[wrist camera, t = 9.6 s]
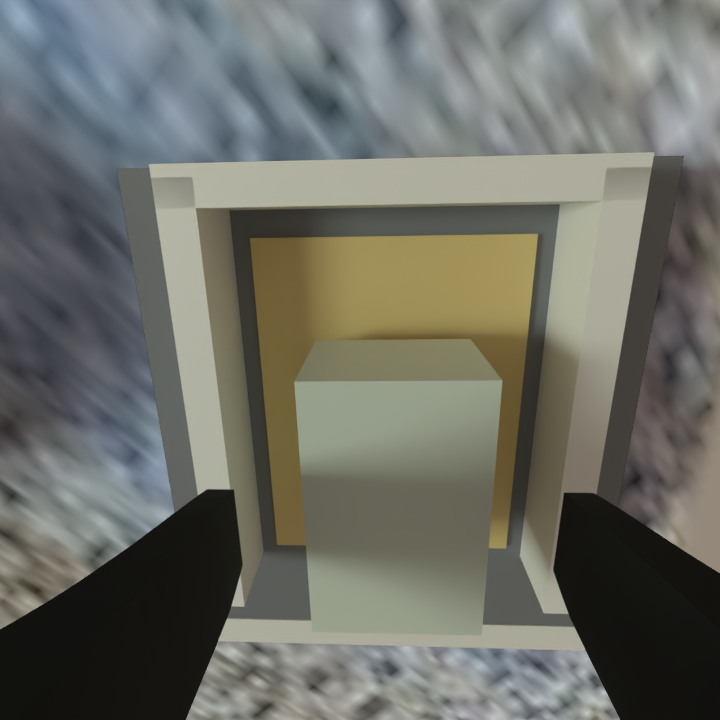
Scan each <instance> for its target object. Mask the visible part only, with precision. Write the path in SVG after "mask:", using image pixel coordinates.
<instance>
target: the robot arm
mask: <svg viewBox="0 0 720 720" xmlns="http://www.w3.org/2000/svg"><path fill="white" fill-rule="evenodd" d="M242 566H243V562H242V554H241V545H240V537H239V528H238V520H237V511H236V503H235V494H234V489H207V490H205V491H204V492H202V493H201V494H199V495H198V496H197V497H195V498H194V499H192V500H191V501H190V502H188V503H187V504H186V505H184V506H183V507H182V508H180V509H179V510H178V511H177V512H175V513H174V514H173V515H171V516H170V517H169V518H167V519H166V520H165V521H163V522H162V523H161V524H159V525H158V526H157V527H155V528H154V529H153V530H151V531H150V532H149V533H147V534H146V535H145V536H143V537H142V538H141V539H139V540H138V541H137V542H135V543H134V544H133V545H131V546H130V547H129V548H127V549H126V550H124V551H123V552H121V553H120V554H119V555H117V556H116V557H114V558H113V559H111V560H110V561H108V562H107V563H106V564H104V565H103V566H101V567H100V568H98V569H97V570H95V571H94V572H93V573H91V574H90V575H88V576H87V577H85V578H84V579H82V580H81V581H79V582H78V583H76V584H75V585H73V586H72V587H70V588H69V589H67V590H66V591H64V592H62V593H61V594H59V595H58V596H56V597H54V598H53V599H51V600H50V601H48V602H46V603H45V604H43V605H41V606H40V607H38V608H36V609H35V610H33V611H31V612H30V613H28V614H26V615H24V616H23V617H21V618H19V619H18V620H16V621H14V622H13V623H11V624H9V625H7V626H6V627H4V628H2V629H0V720H186V717H187V715H188V713H189V710H190V708H191V705H192V703H193V700H194V698H195V696H196V693H197V691H198V688H199V686H200V683H201V681H202V679H203V676H204V674H205V671H206V669H207V667H208V664H209V662H210V659H211V657H212V654H213V652H214V650H215V647H216V645H217V642H218V640H219V637H220V635H221V632H222V630H223V627H224V625H225V622H226V620H227V617H228V615H229V612H230V609H231V606H232V602H233V599H234V596H235V592H236V589H237V585H238V581H239V577H240V574H241V570H242ZM553 571H554V574H555V577H556V580H557V583H558V586H559V589H560V592H561V595H562V598H563V600H564V603H565V606H566V608H567V611H568V614H569V616H570V619H571V621H572V623H573V625H574V627H575V629H576V631H577V633H578V635H579V638H580V640H581V642H582V644H583V646H584V648H585V650H586V652H587V654H588V656H589V658H590V660H591V662H592V664H593V666H594V668H595V670H596V672H597V674H598V676H599V678H600V680H601V682H602V684H603V686H604V688H605V690H606V692H607V694H608V696H609V698H610V700H611V702H612V704H613V706H614V708H615V710H616V712H617V714H618V716H619V718H620V720H720V573H718V572H717V571H715V570H713V569H712V568H710V567H709V566H707V565H705V564H704V563H702V562H701V561H699V560H697V559H696V558H694V557H693V556H691V555H690V554H688V553H686V552H685V551H683V550H682V549H680V548H679V547H677V546H676V545H674V544H672V543H671V542H669V541H668V540H666V539H665V538H663V537H662V536H660V535H659V534H657V533H656V532H654V531H653V530H651V529H650V528H648V527H647V526H645V525H644V524H642V523H640V522H639V521H637V520H636V519H634V518H633V517H631V516H630V515H628V514H627V513H625V512H624V511H622V510H621V509H619V508H618V507H616V506H614V505H613V504H611V503H610V502H608V501H606V500H605V499H603V498H601V497H600V496H598V495H596V494H594V493H564V497H563V504H562V511H561V518H560V525H559V532H558V539H557V546H556V553H555V560H554V567H553Z"/></svg>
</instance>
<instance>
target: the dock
mask: <svg viewBox="0 0 720 720" xmlns="http://www.w3.org/2000/svg"><path fill="white" fill-rule="evenodd" d="M683 158H684V156H654V152H649V153H606V154H563V155H520V156H477V157H434V158H391V159H348V160H305V161H262V162H219V163H176V164H149V168H129V169H117V174H118V180H119V186H120V192H121V198H122V204H123V210H124V216H125V222H126V227H127V233H128V239H129V245H130V251H131V257H132V263H133V269H134V275H135V281H136V287H137V293H138V298H139V304H140V310H141V316H142V322H143V328H144V334H145V340H146V346H147V352H148V358H149V364H150V369H151V375H152V381H153V387H154V393H155V399H156V405H157V411H158V417H159V423H160V429H161V434H162V440H163V446H164V452H165V458H166V464H167V470H168V476H169V482H170V488H171V494H172V500H173V505H174V511H175V512H177V511H178V510H179V509H180V508H182V507H183V506H184V505H186V504H187V503H188V502H190V501H191V500H192V499H194V498H195V497H197V496H198V495H199V494H201V493H202V492H204V491H205V490H207V489H234V494H235V503H236V511H237V520H238V528H239V537H240V545H241V554H242V562H243V566H242V570H241V574H240V577H239V581H238V585H237V589H236V592H235V596H234V599H233V602H232V606H231V609H230V612H229V615H228V617H227V620H226V622H225V625H224V627H223V630H222V632H221V635H220V637H219V640H218V641H233V642H271V643H310V644H348V645H387V646H425V647H464V648H503V649H541V650H580V651H586V650H585V648H584V646H583V644H582V642H581V640H580V638H579V635H578V633H577V631H576V629H575V627H574V625H573V623H572V621H571V619H570V616H569V614H568V611H567V608H566V606H565V603H564V600H563V598H562V595H561V592H560V589H559V586H558V583H557V580H556V577H555V574H554V571H553V567H554V560H555V553H556V546H557V539H558V532H559V525H560V518H561V511H562V504H563V497H564V493H594V494H596V495H598V496H600V497H601V498H603V499H605V500H606V501H608V502H610V503H611V504H613V505H614V506H616V507H618V503H619V498H620V492H621V487H622V482H623V476H624V471H625V466H626V461H627V455H628V450H629V445H630V439H631V434H632V429H633V423H634V418H635V413H636V408H637V402H638V397H639V392H640V386H641V381H642V376H643V370H644V365H645V360H646V354H647V349H648V344H649V339H650V333H651V328H652V323H653V317H654V312H655V307H656V301H657V296H658V291H659V285H660V280H661V275H662V270H663V264H664V259H665V254H666V248H667V243H668V238H669V232H670V227H671V222H672V216H673V211H674V206H675V201H676V195H677V190H678V185H679V179H680V174H681V169H682V163H683ZM404 339H471V340H472V342H473V343H474V344H475V345H476V347H477V348H478V349H479V351H480V352H481V353H482V355H483V356H484V357H485V358H486V360H487V361H488V362H489V364H490V365H491V366H492V368H493V369H494V370H495V371H496V373H497V374H498V375H499V377H500V378H501V379H502V391H501V404H500V416H499V428H498V441H497V453H496V465H495V478H494V490H493V502H492V515H491V527H490V539H489V552H488V564H487V576H486V589H485V601H484V613H483V626H482V635H434V634H385V633H337V632H312V624H311V610H310V596H309V582H308V568H307V554H306V540H305V526H304V512H303V498H302V484H301V469H300V455H299V441H298V427H297V413H296V399H295V385H294V381H295V379H296V377H297V375H298V374H299V372H300V370H301V368H302V366H303V364H304V362H305V360H306V358H307V356H308V355H309V353H310V351H311V349H312V347H313V345H314V343H315V341H316V340H404Z"/></svg>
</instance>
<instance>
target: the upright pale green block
mask: <svg viewBox="0 0 720 720" xmlns="http://www.w3.org/2000/svg"><path fill="white" fill-rule="evenodd" d="M294 385H295V399H296V413H297V427H298V441H299V455H300V469H301V484H302V498H303V512H304V526H305V540H306V554H307V568H308V582H309V596H310V610H311V624H312V632H337V633H385V634H434V635H482V626H483V613H484V601H485V589H486V576H487V564H488V552H489V539H490V527H491V515H492V502H493V490H494V478H495V465H496V453H497V441H498V428H499V416H500V404H501V391H502V379H501V378H500V377H499V375H498V374H497V373H496V371H495V370H494V369H493V368H492V366H491V365H490V364H489V362H488V361H487V360H486V358H485V357H484V356H483V355H482V353H481V352H480V351H479V349H478V348H477V347H476V345H475V344H474V343H473V342H472V340H471V339H404V340H316V341H315V343H314V345H313V347H312V349H311V351H310V353H309V355H308V356H307V358H306V360H305V362H304V364H303V366H302V368H301V370H300V372H299V374H298V375H297V377H296V379H295V381H294Z"/></svg>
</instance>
